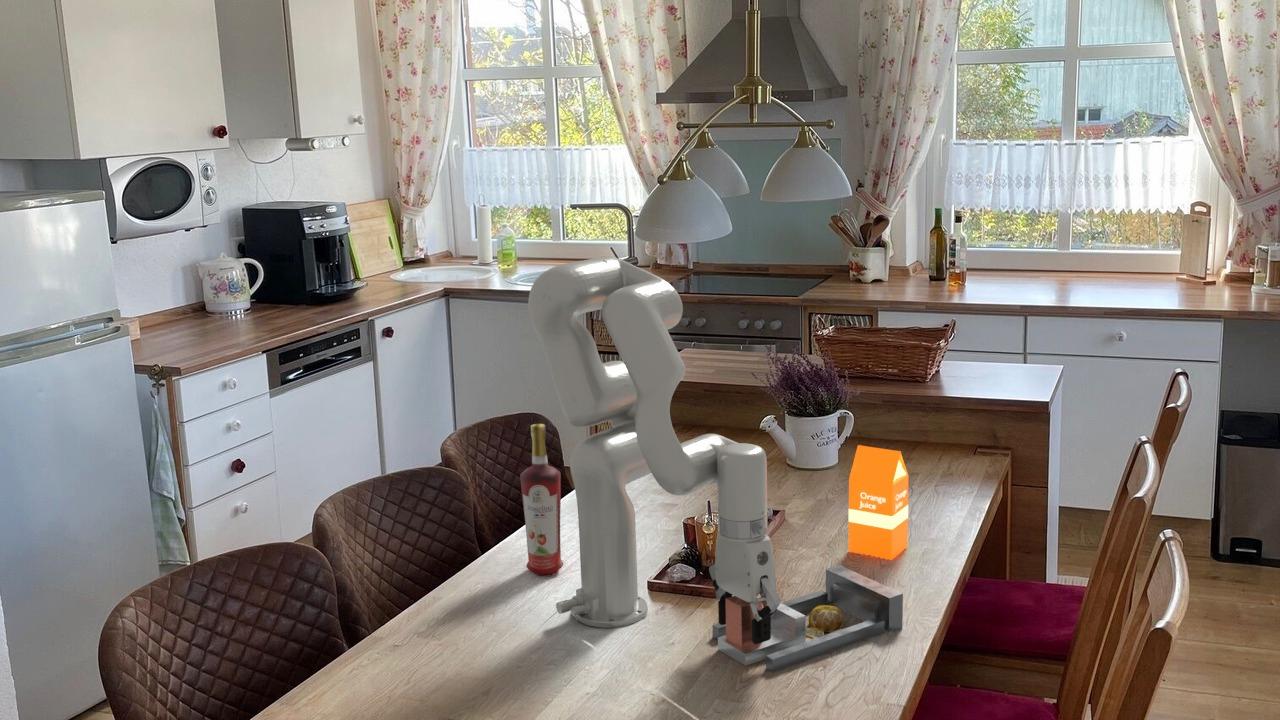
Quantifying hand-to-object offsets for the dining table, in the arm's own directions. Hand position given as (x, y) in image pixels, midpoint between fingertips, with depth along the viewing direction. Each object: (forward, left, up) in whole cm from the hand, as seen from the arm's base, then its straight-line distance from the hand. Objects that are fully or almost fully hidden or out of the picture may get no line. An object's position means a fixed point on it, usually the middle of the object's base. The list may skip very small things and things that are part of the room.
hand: (744, 631), depth 192 cm
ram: (+3, 0, -4) cm, 5 cm away
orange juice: (+47, +20, -4) cm, 52 cm away
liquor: (-9, +49, -4) cm, 50 cm away
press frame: (+13, 0, -4) cm, 14 cm away
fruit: (+16, -1, -5) cm, 16 cm away
